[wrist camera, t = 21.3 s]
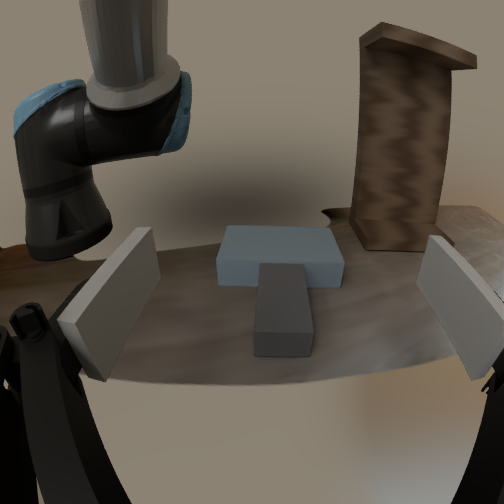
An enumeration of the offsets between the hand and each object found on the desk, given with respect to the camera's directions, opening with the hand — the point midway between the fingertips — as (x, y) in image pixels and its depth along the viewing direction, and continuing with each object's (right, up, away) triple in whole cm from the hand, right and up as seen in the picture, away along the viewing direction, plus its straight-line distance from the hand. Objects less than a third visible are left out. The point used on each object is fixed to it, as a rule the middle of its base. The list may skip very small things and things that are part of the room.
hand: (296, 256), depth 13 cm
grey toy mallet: (+1, -4, +15) cm, 15 cm away
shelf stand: (+19, +2, +25) cm, 32 cm away
